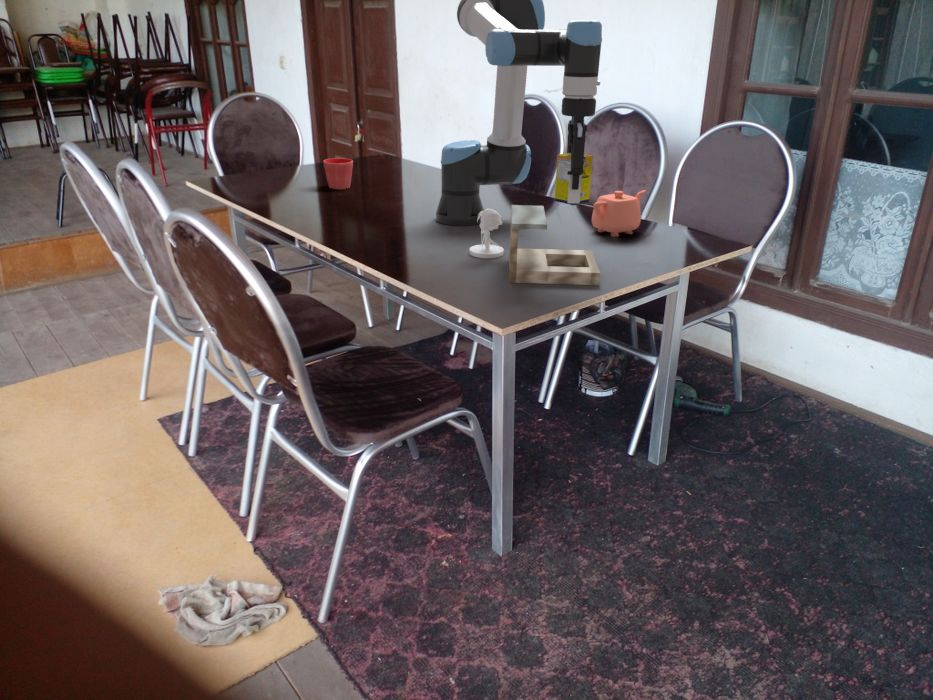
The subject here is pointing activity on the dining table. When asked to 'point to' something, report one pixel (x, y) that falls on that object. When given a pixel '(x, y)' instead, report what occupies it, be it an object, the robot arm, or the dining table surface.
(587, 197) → the supplement box
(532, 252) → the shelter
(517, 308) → the dining table surface
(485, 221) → the figurine
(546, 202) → the dining table surface
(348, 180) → the flower pot
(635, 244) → the dining table surface
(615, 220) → the teapot
